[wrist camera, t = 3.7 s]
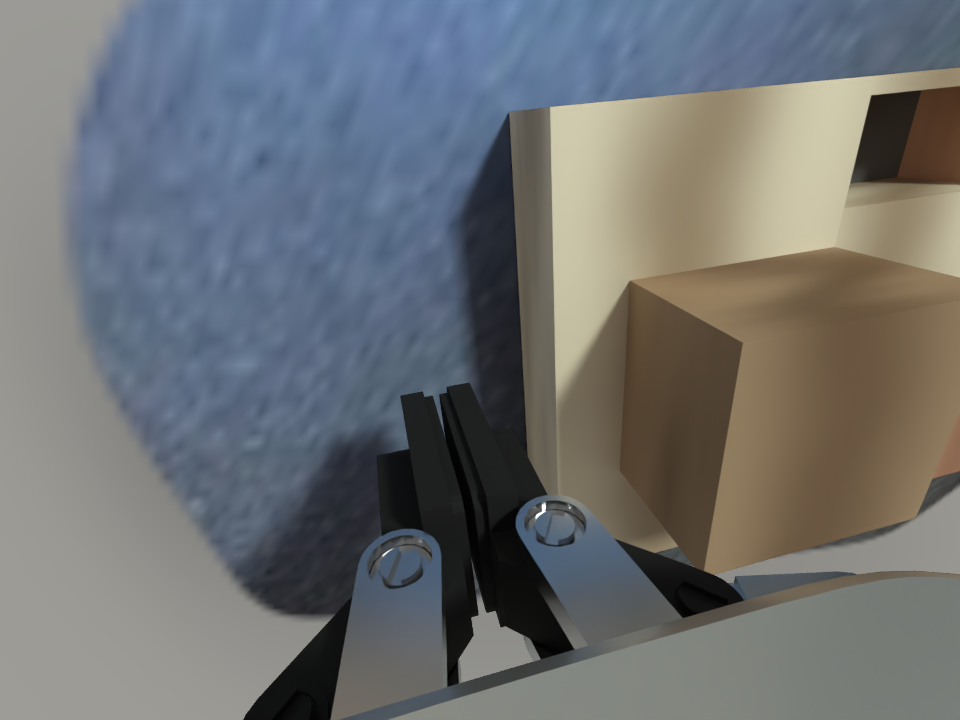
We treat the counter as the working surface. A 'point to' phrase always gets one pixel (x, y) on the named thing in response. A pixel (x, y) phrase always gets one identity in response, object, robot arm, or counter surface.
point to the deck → (705, 232)
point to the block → (787, 400)
